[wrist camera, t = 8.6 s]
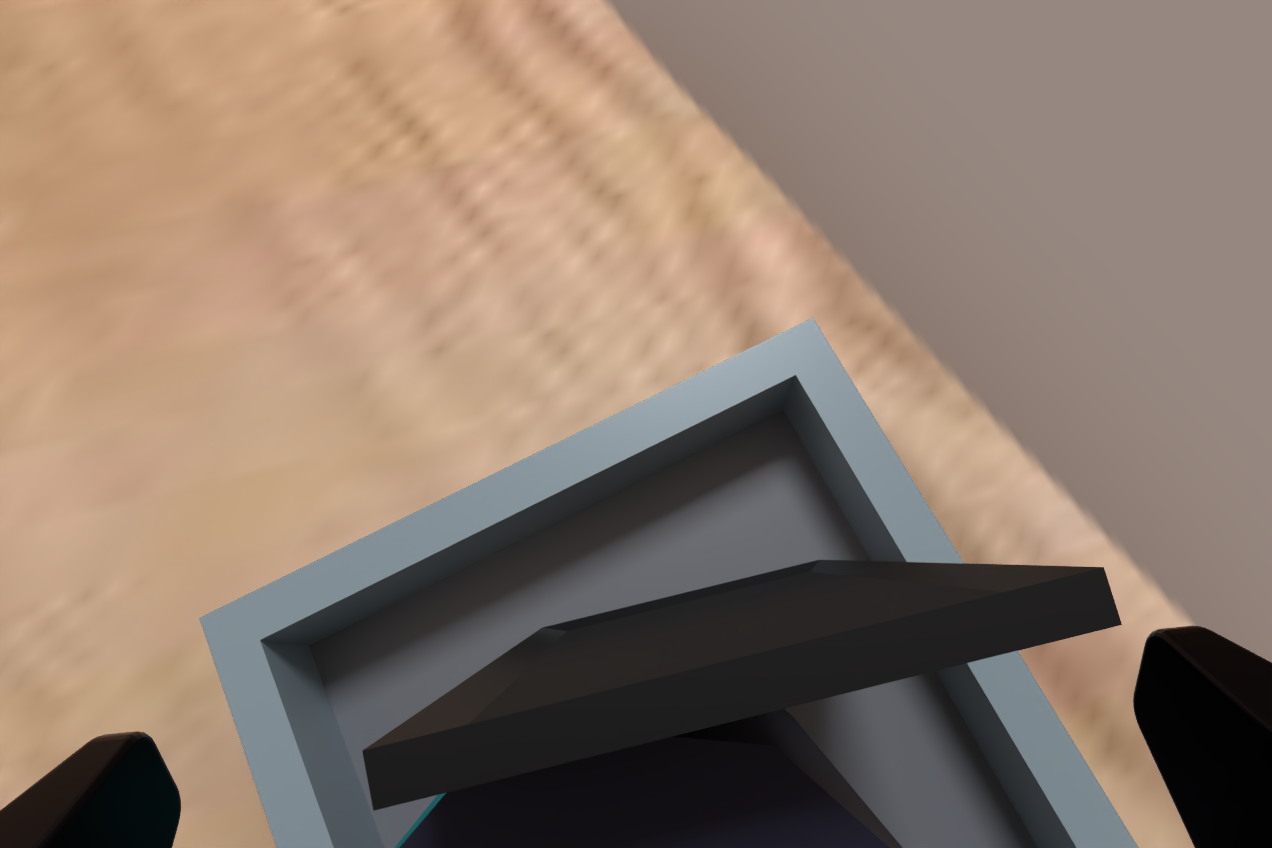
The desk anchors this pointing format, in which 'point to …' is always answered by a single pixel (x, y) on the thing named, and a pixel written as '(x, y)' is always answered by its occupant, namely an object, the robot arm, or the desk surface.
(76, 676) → the desk surface
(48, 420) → the desk surface
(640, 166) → the desk surface
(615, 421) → the tray
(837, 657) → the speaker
